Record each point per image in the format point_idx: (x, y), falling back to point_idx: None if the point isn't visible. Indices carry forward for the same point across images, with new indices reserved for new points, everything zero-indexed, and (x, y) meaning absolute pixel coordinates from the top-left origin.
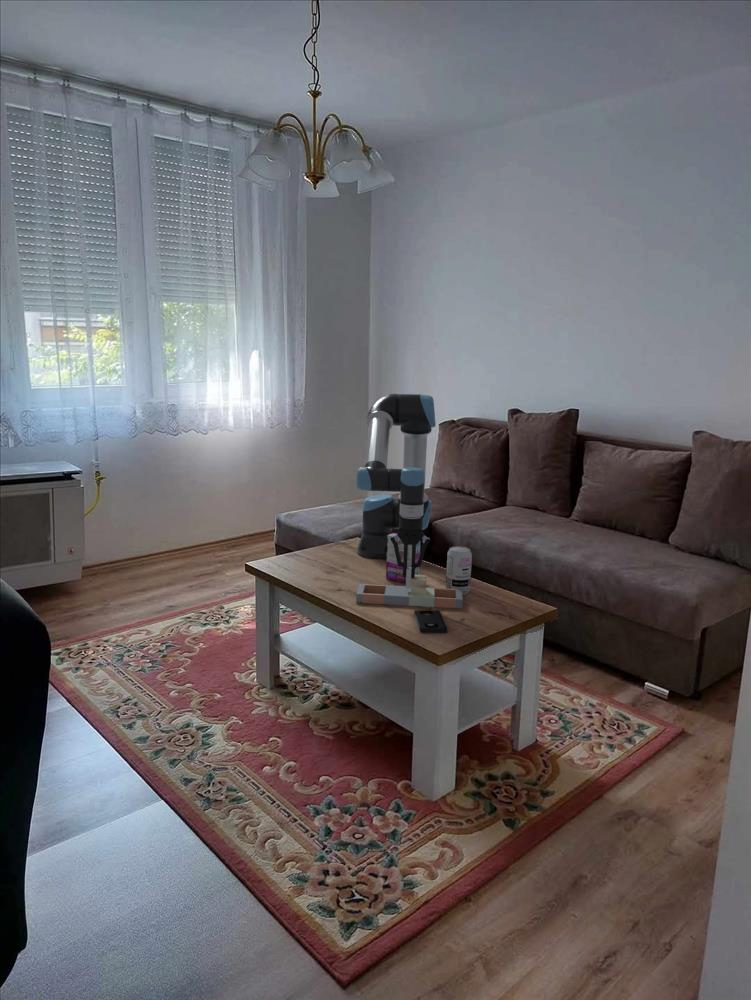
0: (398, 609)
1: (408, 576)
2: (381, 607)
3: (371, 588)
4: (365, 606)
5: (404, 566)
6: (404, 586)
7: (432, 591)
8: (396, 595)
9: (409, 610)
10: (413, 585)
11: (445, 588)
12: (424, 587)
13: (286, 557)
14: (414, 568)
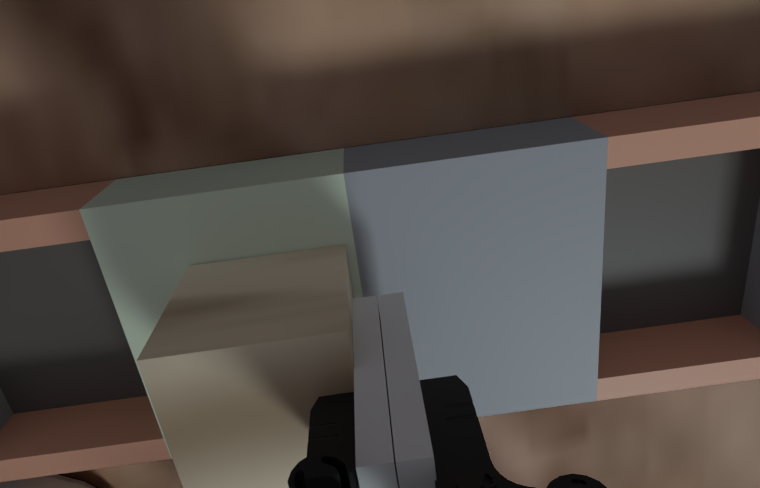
0: (422, 16)
1: (388, 380)
2: (590, 24)
3: (711, 343)
4: (744, 6)
5: (479, 483)
6: None
7: None
8: (479, 168)
9: (313, 20)
10: (312, 294)
11: (72, 470)
12: (185, 302)
13: None
14: (297, 471)
